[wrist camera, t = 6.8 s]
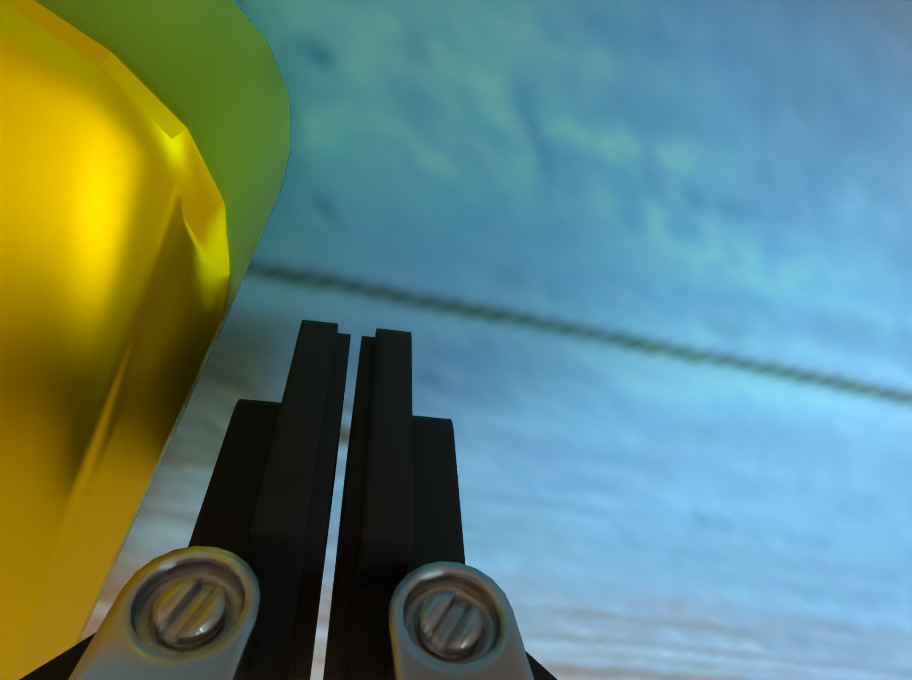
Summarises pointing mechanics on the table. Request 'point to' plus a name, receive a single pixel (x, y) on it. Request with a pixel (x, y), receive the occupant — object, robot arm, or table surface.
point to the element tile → (114, 271)
